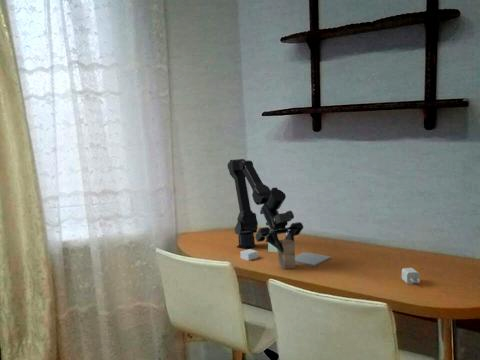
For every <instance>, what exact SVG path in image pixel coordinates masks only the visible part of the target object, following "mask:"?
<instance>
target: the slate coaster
mask: <svg viewBox="0 0 480 360" xmlns="http://www.w3.org/2000/svg"><path fill="white" fill-rule="evenodd" d="M331 258H332V257H331V256H328V255H321V254H318V253H317V254H316V253H314V252H313V253H312V252H308V251H303V252H301V253H299V254H297V255H295V264H297V263H298V264H301V265H305V266H306V265H307V266H310V267H316V266H318V265H320V264H321V263H325V262H326V261H328V260H330V259H331Z"/></svg>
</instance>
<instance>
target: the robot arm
mask: <svg viewBox="0 0 480 360" xmlns="http://www.w3.org/2000/svg"><path fill="white" fill-rule="evenodd" d="M227 169H228V173H229V175H230V177H231V178H232V179H233V180H234V185H235V191H236V197H237V198H236V199H237V203H238V208H239V213H238V216H237V218H236V219H237V223H236V225H235V227H234V233H235V234H236V235H238V245H236V248H240V249H245V250H248V249H251V248H255V247H256V246H257V244H256V243H255V242H257V243H260V242H266V243H268V242H269V243H270V244H272V245H273V246H274V247H276V248H277V249H278V250H279V251H281V252H283V248H282V245H281V243H280V241H279V240H280V239H279V237H278V235H281V234H285V238H284V239H290V240H292V241H294V242H295V236H298V235H299V234H300V233H302V230H303V229H304V225H303V223H302V222H300V221H297V222H291V221H292V220H293V219H295V216H294V215H295V214H294V213H293V211H292V210H287V211H285V212H282V213H280V212H279V209H280V208H281V207H282V205H283V203H284V201H285V200H286V199H287V197H286V196H287V195H286V193H285V192H283V190H280V189H278V187H272V188H271V189H270V187H269V186H267V185H266V184H264V183H263V181H262V180H261V179H262V178H260V175H259V174H258V172H257V170H256V169H255V167H254V162H253V161H252V160H246V159H245V158H239V159H237V158H235V159H230V160H229V162H228V163H227ZM247 182H248V185H250V187H251V190H252V195H251V196H252V199H253V202H254V203H255V204H256V205H257V206H260V205H262V206H261V208H260V211H259V212H260V213H259V214H260V215H263V216H264V219H265V221H266V223H265V224H266V227H261V228H258V226H259V224H258V223H259V222H258V218H257V214H256V212H253V210H252V209H251V204H250V199H249V192H248V186H247ZM289 222H291V224H290V226H289V227H288V223H289ZM286 226H287V227H286ZM254 233H255V234H254ZM255 240H256V241H255Z"/></svg>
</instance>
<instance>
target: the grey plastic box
mask: <svg viewBox="0 0 480 360" xmlns="http://www.w3.org/2000/svg"><path fill="white" fill-rule="evenodd" d="M258 254H259V253H258V251H257V250H254V249H251V248H249V249H245V250H244V249H243V250H242V251H240V259H242V260H245V261H249V260H250V261H253V260H255V259H258V258H259V255H258ZM252 259H253V260H252Z"/></svg>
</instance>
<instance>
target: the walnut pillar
mask: <svg viewBox="0 0 480 360" xmlns="http://www.w3.org/2000/svg"><path fill="white" fill-rule="evenodd" d="M279 241H280V243H281V245H282V248H283V252H281V251H279V250H278V252H277V255H278V256H277V257H278V267H279V268H281V269H283V270H289V269H290V270H291V269H294V268H296V262H295V256H296V251H295V250H296V249H295V246H296V245H295V240H294V241H292V240H290V239H285V238H284V239H279Z"/></svg>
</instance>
